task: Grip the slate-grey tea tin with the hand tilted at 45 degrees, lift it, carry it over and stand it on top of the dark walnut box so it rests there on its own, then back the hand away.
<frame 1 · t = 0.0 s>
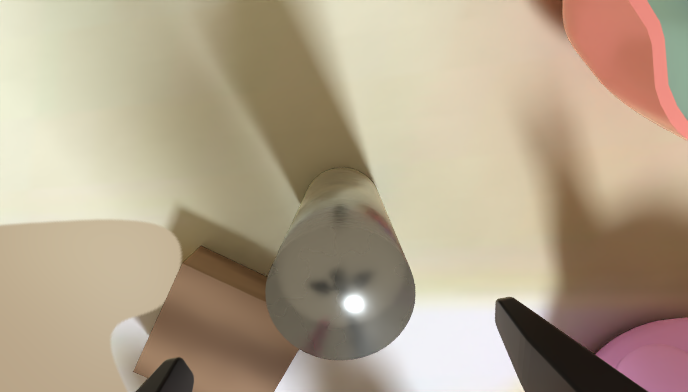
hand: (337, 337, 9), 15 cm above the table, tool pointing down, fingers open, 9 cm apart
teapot: (634, 367, 28), on the table
walnut box: (234, 322, 27), on the table
tea tin: (342, 204, 24), on the table
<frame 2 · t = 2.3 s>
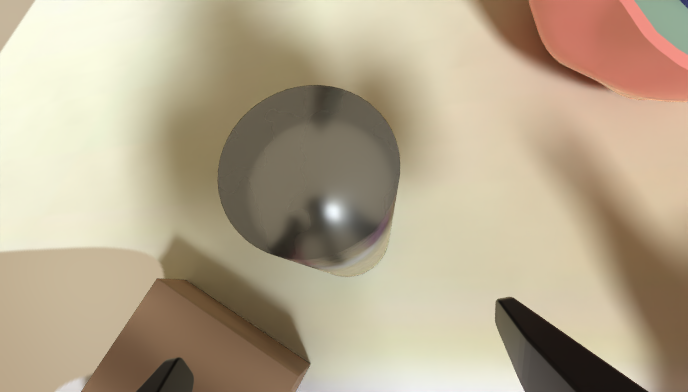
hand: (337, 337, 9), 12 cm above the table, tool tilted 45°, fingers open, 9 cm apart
cell model: (614, 37, 24), on the table
tea tin: (346, 233, 22), on the table
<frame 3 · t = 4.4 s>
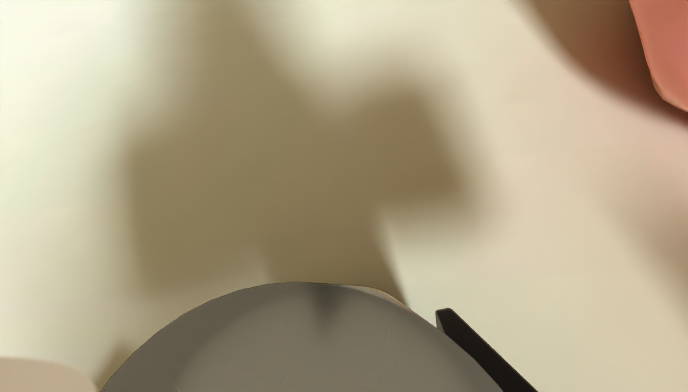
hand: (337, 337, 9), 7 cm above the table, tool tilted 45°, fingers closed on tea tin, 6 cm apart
tea tin: (360, 349, 15), on the table, touching gripper
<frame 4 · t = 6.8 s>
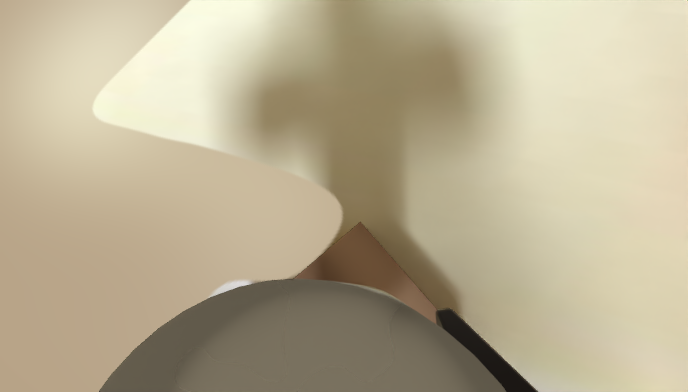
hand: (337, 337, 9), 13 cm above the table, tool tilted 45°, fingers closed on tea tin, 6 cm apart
walnut box: (354, 335, 22), on the table
tea tin: (360, 348, 15), point 7 cm above the table, touching gripper
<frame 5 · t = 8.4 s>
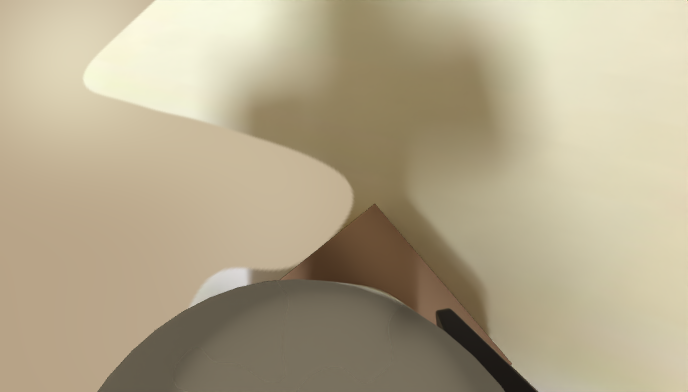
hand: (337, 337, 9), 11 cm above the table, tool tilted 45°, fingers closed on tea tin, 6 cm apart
walnut box: (364, 333, 19), on the table
tea tin: (360, 348, 15), point 4 cm above the table, touching gripper
when the fingers open (9 cm above the table, at t = 9.7 s): tea tin stays where it is, resting on walnut box.
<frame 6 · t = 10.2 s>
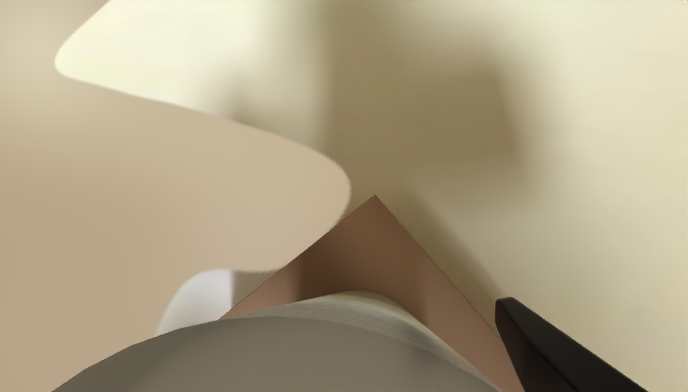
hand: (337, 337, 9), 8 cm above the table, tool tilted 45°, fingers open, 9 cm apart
walnut box: (362, 344, 17), on the table
tea tin: (358, 359, 14), point 3 cm above the table, touching walnut box
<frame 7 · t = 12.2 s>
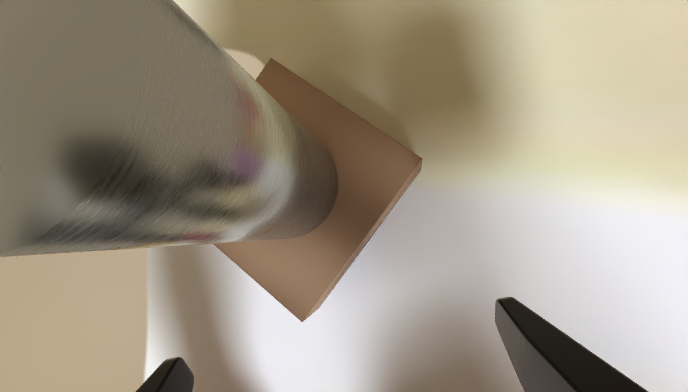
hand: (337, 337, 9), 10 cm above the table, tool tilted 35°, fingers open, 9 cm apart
walnut box: (304, 189, 20), on the table
tea tin: (285, 184, 17), point 3 cm above the table, touching walnut box
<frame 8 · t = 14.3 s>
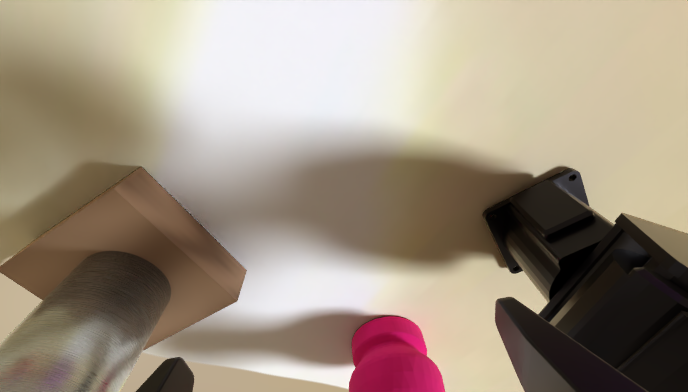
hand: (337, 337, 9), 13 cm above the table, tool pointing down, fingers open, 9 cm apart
walnut box: (145, 255, 23), on the table
tea tin: (124, 286, 21), point 3 cm above the table, touching walnut box
pepper mill: (386, 338, 29), on the table
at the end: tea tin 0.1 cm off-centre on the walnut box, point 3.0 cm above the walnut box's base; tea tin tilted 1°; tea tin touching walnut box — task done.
